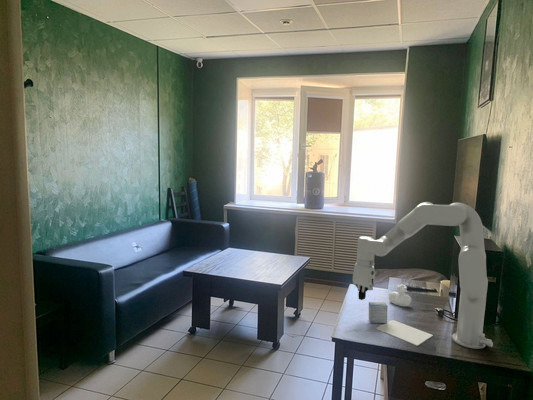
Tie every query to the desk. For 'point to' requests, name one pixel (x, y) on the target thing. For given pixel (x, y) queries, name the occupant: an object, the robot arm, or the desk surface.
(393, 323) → the mat
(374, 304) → the medicine box
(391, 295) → the bust
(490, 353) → the desk surface
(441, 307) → the desk surface
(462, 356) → the desk surface
